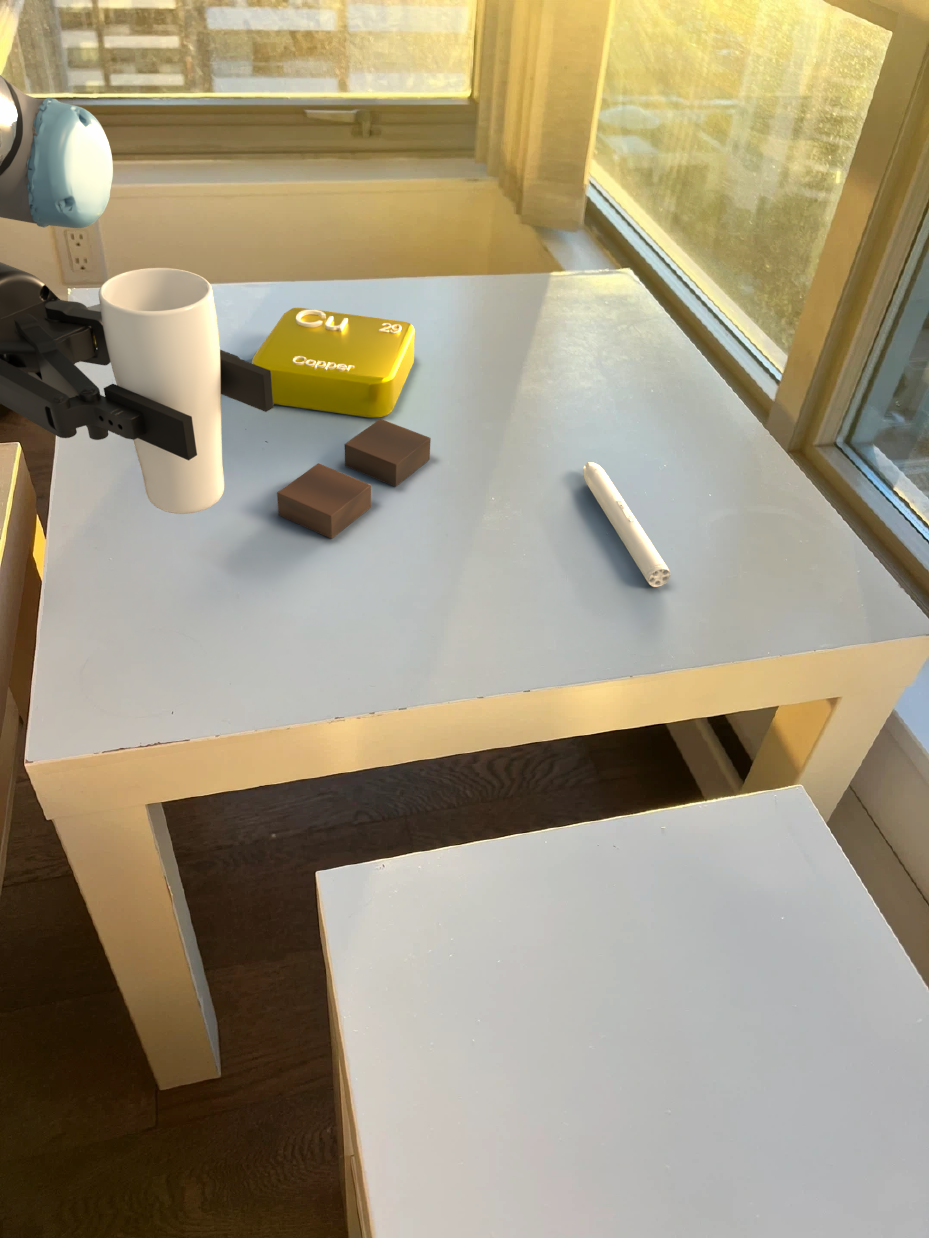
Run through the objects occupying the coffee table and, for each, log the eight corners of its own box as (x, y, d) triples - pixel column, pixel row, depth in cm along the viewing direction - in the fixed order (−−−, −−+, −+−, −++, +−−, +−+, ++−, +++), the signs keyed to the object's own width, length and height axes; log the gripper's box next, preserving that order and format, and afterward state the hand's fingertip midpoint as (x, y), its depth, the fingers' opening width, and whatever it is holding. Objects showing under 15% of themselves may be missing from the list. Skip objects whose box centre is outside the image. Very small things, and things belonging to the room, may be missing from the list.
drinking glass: (251, 506, 67) (232, 300, 57) (158, 535, 64) (120, 322, 54) (212, 460, 71) (187, 259, 61) (122, 484, 68) (80, 277, 58)
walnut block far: (395, 487, 91) (396, 464, 89) (344, 466, 93) (344, 444, 91) (429, 459, 95) (431, 437, 93) (380, 440, 97) (380, 418, 95)
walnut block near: (331, 539, 84) (331, 516, 83) (278, 515, 86) (276, 492, 85) (371, 507, 88) (371, 484, 87) (319, 485, 90) (318, 462, 89)
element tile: (249, 402, 101) (245, 360, 98) (290, 340, 112) (288, 300, 109) (389, 422, 100) (389, 380, 97) (417, 357, 111) (418, 317, 108)
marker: (575, 473, 95) (578, 452, 93) (594, 471, 95) (598, 451, 94) (645, 588, 82) (651, 567, 81) (668, 586, 83) (674, 564, 81)
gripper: (97, 316, 77) (327, 405, 69) (-127, 414, 64) (124, 538, 56) (78, 221, 72) (323, 305, 64) (-169, 307, 59) (101, 426, 51)
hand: (230, 414), depth 60 cm, fingers closed on drinking glass, 7 cm apart
